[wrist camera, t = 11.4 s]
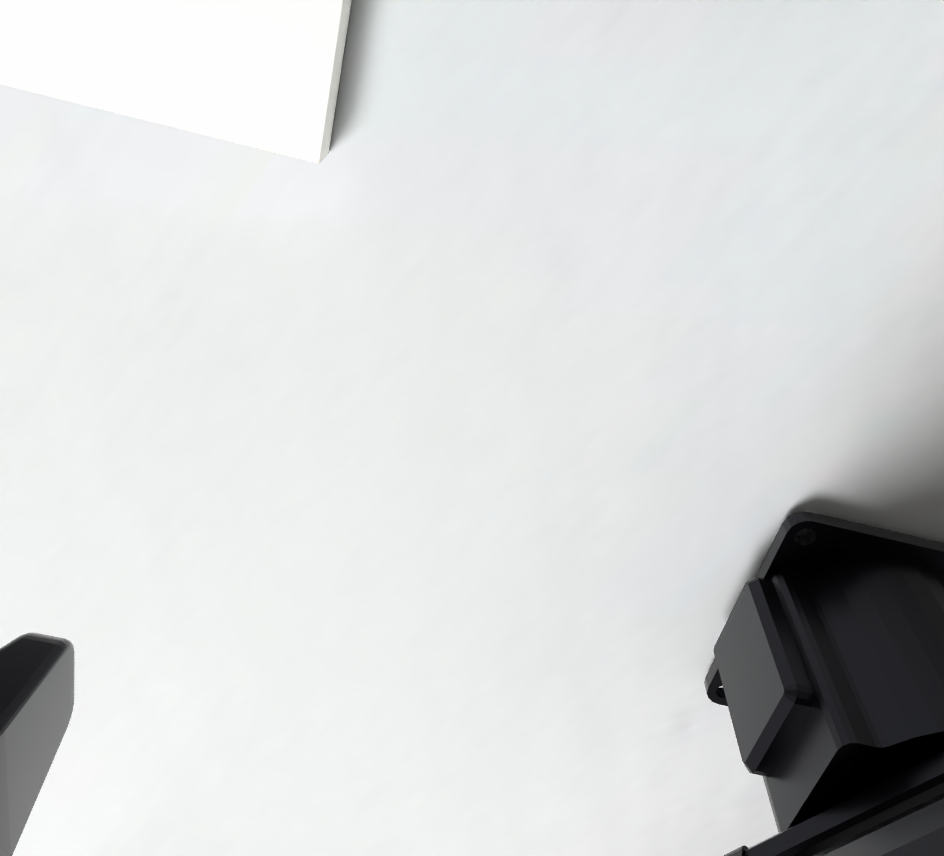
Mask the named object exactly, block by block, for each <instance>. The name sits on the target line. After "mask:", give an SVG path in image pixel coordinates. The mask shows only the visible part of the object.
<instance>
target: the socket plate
mask: <svg viewBox="0 0 944 856" xmlns="http://www.w3.org/2000/svg"><path fill="white" fill-rule="evenodd" d="M351 2H352V0H0V84H2V85H6V86H10V87H14V88H18V89H22V90H26V91H30V92H34V93H38V94H42V95H46V96H50V97H54V98H58V99H62V100H66V101H70V102H74V103H78V104H82V105H86V106H90V107H94V108H98V109H102V110H106V111H110V112H114V113H118V114H122V115H126V116H130V117H134V118H138V119H142V120H146V121H150V122H154V123H158V124H162V125H166V126H170V127H174V128H178V129H182V130H186V131H190V132H194V133H198V134H202V135H206V136H210V137H214V138H218V139H222V140H226V141H230V142H234V143H238V144H242V145H246V146H250V147H254V148H258V149H262V150H266V151H270V152H274V153H278V154H282V155H286V156H290V157H294V158H298V159H302V160H306V161H310V162H314V163H318V164H319V163H320V162H321V161H322V160H323V159H324V158H325V157H326V156H327V155H328V153H329V147H330V141H331V134H332V127H333V121H334V114H335V107H336V101H337V94H338V88H339V81H340V74H341V68H342V61H343V55H344V48H345V41H346V35H347V28H348V22H349V15H350V8H351Z"/></svg>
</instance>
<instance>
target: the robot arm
mask: <svg viewBox="0 0 944 856" xmlns="http://www.w3.org/2000/svg"><path fill="white" fill-rule="evenodd" d="M803 529H811V531H810V532H809V533H808V534H806V535H804V536H796V534H797V533H798V532H799V531H801V530H803ZM714 654H715V660H714V662H713V664H712V666H711V668H710V670H709V672H708V674H707V676H706V678H705V682H704V683H705V687H706V691H707V695H708V698H709V699H710V700H711V701H712V702H715V703H717V704H721V705H725V706H728V707H729V711H730V715H731V719H732V723H733V726H734V730H735V734H736V738H737V742H738V745H739V749H740V753H741V757H742V761H743V763H744V764H745V766H746V768H747V769H748V771H749V772H750V773H753V774H758V775H762V776H763V778H764V782H765V786H766V789H767V793H768V796H769V800H770V803H771V807H772V810H773V814H774V817H775V821H776V825H777V828H778V832H779V833H778V834H776V835H774V836H772V837H770V838H768V839H766V840H764V841H762V842H760V843H758V844H756V845H754V846H752V847H750V848H748V847H746V846H742V847H740V848H738V849H736V850H734V851H732V852H730V853H728V854H726V855H724V856H944V544H943V543H939V542H935V541H930V540H926V539H922V538H917V537H913V536H909V535H905V534H900V533H896V532H892V531H887V530H883V529H879V528H875V527H870V526H866V525H862V524H857V523H853V522H849V521H845V520H840V519H836V518H832V517H827V516H823V515H819V514H814V513H810V512H799V513H795V514H793V515H791V516H789V517H788V518H787V519H786V520H785V521H784V523H783V524H782V526H781V528H780V530H779V532H778V534H777V536H776V538H775V540H774V542H773V544H772V546H771V548H770V550H769V552H768V554H767V556H766V558H765V560H764V562H763V564H762V566H761V568H760V570H759V572H758V574H757V576H756V577H754V578H752V579H751V580H750V581H748V582H747V583H746V584H745V586H744V588H743V590H742V592H741V594H740V596H739V598H738V600H737V602H736V604H735V606H734V608H733V610H732V612H731V614H730V616H729V618H728V620H727V622H726V624H725V626H724V628H723V630H722V632H721V634H720V637H719V639H718V641H717V643H716V645H715V647H714ZM722 685H723V688H719V687H720V686H722ZM73 705H74V648H73V645H72V643H71V642H70V641H68V640H66V639H63V638H58V637H53V636H48V635H43V634H38V633H27V634H24V635H21V636H20V637H18V638H16V639H15V640H13V641H11V642H10V643H8V644H7V645H5V646H4V647H2V648H0V856H12V855H13V852H14V850H15V848H16V845H17V843H18V841H19V838H20V836H21V834H22V831H23V829H24V827H25V824H26V822H27V820H28V817H29V815H30V813H31V810H32V808H33V806H34V803H35V801H36V799H37V796H38V794H39V792H40V789H41V787H42V785H43V783H44V780H45V778H46V776H47V773H48V771H49V769H50V766H51V764H52V762H53V759H54V757H55V755H56V752H57V750H58V748H59V745H60V743H61V741H62V738H63V736H64V734H65V731H66V729H67V727H68V724H69V721H70V718H71V714H72V710H73Z"/></svg>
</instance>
